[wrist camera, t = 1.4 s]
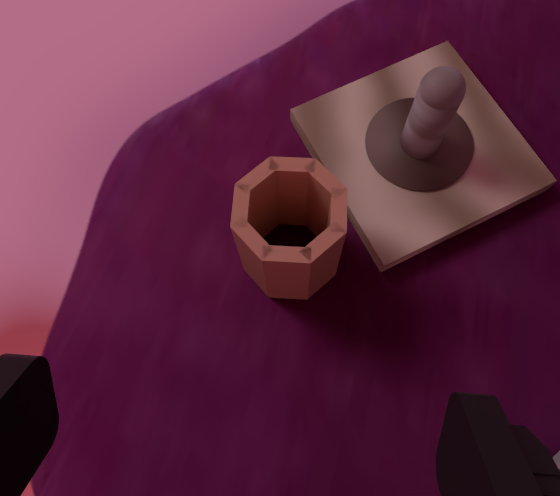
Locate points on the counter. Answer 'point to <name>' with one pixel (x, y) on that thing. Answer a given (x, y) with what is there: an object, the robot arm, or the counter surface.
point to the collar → (289, 211)
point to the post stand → (419, 153)
